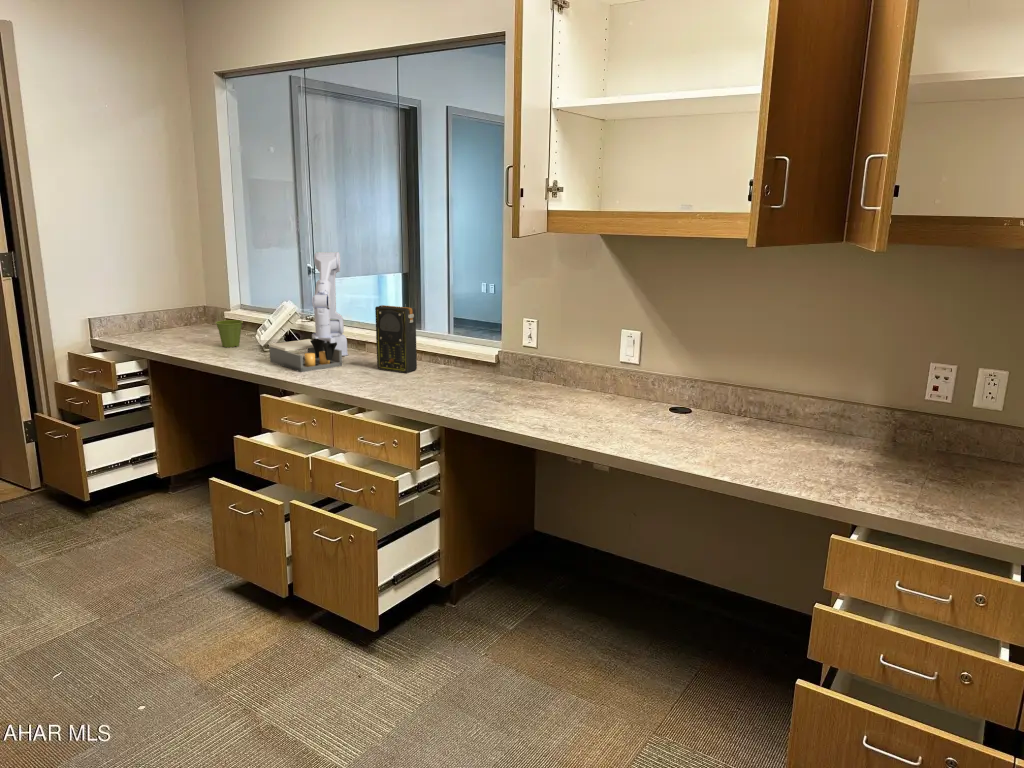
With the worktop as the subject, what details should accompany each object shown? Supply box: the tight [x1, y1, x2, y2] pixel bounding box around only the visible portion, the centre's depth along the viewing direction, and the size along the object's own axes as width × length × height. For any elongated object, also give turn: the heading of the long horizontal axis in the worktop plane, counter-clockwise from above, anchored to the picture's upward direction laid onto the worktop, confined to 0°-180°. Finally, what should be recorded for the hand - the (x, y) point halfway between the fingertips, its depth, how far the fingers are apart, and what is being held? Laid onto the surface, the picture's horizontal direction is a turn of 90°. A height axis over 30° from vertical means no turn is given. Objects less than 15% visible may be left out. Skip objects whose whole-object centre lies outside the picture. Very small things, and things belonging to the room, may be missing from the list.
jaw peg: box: [319, 351, 330, 365], centre depth 290 cm, size 4×4×6 cm
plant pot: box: [214, 319, 244, 348], centre depth 331 cm, size 12×12×11 cm
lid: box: [268, 338, 314, 352], centre depth 298 cm, size 18×14×2 cm
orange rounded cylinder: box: [304, 352, 315, 367], centre depth 286 cm, size 4×4×6 cm
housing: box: [268, 346, 343, 373], centre depth 295 cm, size 18×26×6 cm
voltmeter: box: [374, 304, 418, 374], centre depth 283 cm, size 16×9×25 cm, turn 60°
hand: (324, 358), depth 290 cm, fingers open, 7 cm apart
